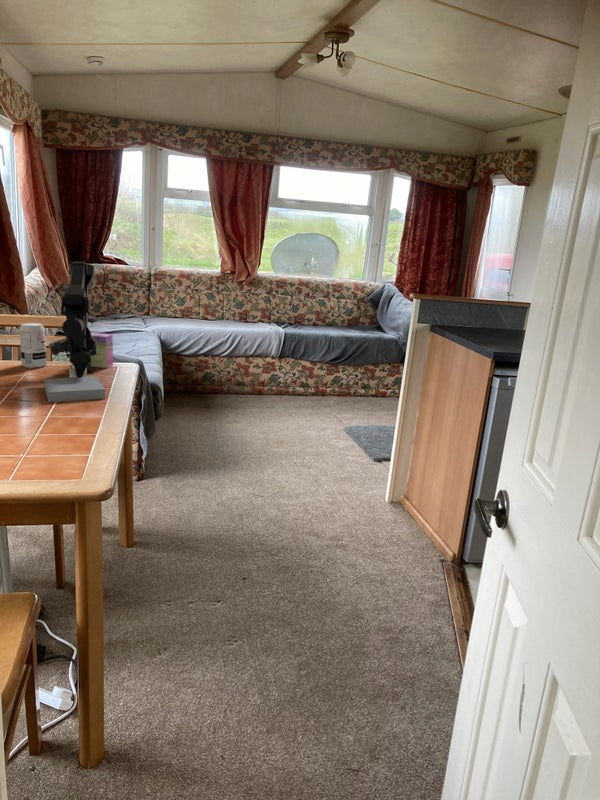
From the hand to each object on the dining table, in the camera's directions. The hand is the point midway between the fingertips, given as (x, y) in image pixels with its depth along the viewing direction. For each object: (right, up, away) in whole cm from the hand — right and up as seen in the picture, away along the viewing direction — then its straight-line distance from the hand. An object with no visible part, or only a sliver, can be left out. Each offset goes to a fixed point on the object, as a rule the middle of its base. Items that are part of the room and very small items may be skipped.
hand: (78, 377), depth 202 cm
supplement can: (-22, +5, +16) cm, 28 cm away
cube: (0, -1, 0) cm, 1 cm away
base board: (+4, -5, -14) cm, 15 cm away
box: (-1, +5, +22) cm, 23 cm away
